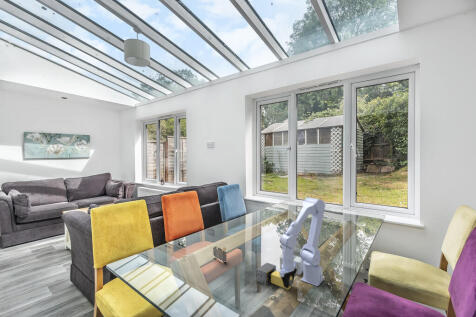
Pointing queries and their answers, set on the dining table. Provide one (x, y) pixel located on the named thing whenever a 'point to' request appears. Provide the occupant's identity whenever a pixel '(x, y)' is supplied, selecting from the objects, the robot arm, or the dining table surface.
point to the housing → (265, 273)
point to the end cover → (279, 280)
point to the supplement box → (298, 264)
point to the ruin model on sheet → (219, 253)
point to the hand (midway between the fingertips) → (288, 285)
